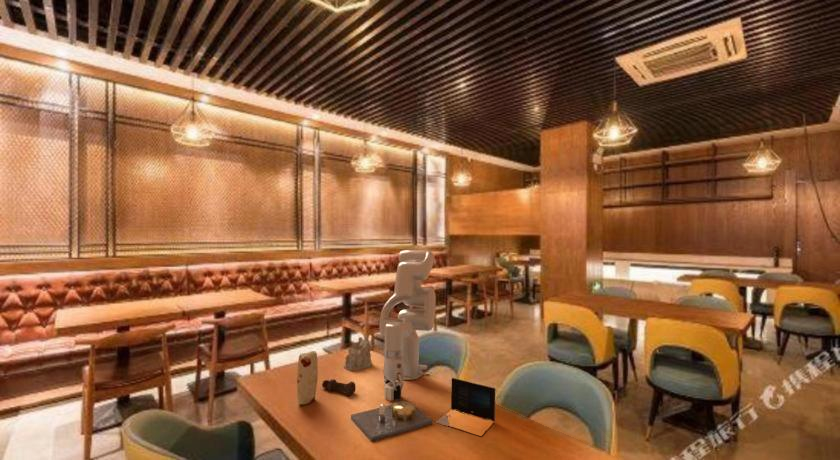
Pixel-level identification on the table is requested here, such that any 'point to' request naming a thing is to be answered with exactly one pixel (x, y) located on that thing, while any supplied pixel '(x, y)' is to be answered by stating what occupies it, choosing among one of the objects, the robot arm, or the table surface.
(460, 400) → the laptop
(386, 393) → the planet gear
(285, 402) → the table surface
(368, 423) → the carrier plate
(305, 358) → the food model
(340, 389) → the bolt
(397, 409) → the sun gear
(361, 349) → the grey jagged tapered piece
